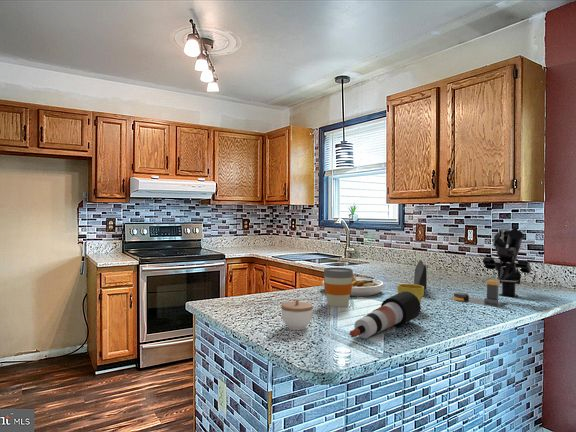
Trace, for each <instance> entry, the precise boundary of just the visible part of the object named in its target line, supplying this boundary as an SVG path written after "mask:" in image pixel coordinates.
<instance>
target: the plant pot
mask: <svg viewBox="0 0 576 432" xmlns="http://www.w3.org/2000/svg"><path fill="white" fill-rule="evenodd" d="M404 291H408V292H411V293H412V294H414V295H415V296H416V297H417V298H418V300H419V302H420V304H421V302H422V299H423V296H424V295H425V290H424V287H423V286H421V285H415V284H414V283H413V284H412V283H400V284H398V285H397V294H398V293H401V292H404Z"/></svg>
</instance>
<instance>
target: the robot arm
mask: <svg viewBox="0 0 576 432" xmlns="http://www.w3.org/2000/svg"><path fill="white" fill-rule="evenodd" d="M523 239H524V233H523V232H522V231H521V230H519V229H518V228H517V227H516V228H514V227H512V229H508V228H503V229H502V228H500V229H498V232H497V233H496V234H494V236H493V242H492V245H493V247H494V250H495V251H496V255H497V256H498V259H495V258H494V257H490V256H484V257H483V259H482V263H483V265H484V267H485V269H487V270H495V269H496V271H497V278H498V279H497V281H498V284H501V293H498V296H502V297H509V298H515V297H517V296H519V294H516V285H520V284H521V278H522V273H523V274H530V273H531V271H532V267H531V265H530V262H529V260H523V259H518V255H519V252H520V248H521V245H522V241H523ZM516 261H517V262H516ZM519 269H520V271H521V272H520V271H519Z"/></svg>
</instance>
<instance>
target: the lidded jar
mask: <svg viewBox="0 0 576 432" xmlns="http://www.w3.org/2000/svg"><path fill="white" fill-rule="evenodd" d="M280 307H281V318H282V321H283V323H284V325H285V326H286V327H287V328H288V330H293V331H302V330H305V329H306V328H307V327H308V326H309V325H310V323H311V321H312V317H313V309H314V305H313V303H310V302H306V301H299V299H295V301H287V302H283V303H282V304H281V306H280Z"/></svg>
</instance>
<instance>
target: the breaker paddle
mask: <svg viewBox="0 0 576 432" xmlns="http://www.w3.org/2000/svg"><path fill="white" fill-rule="evenodd" d="M486 298H488V299H495V300H498V301H499V282H498V280H492V279H491V280H490V279H488V280H486Z"/></svg>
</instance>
